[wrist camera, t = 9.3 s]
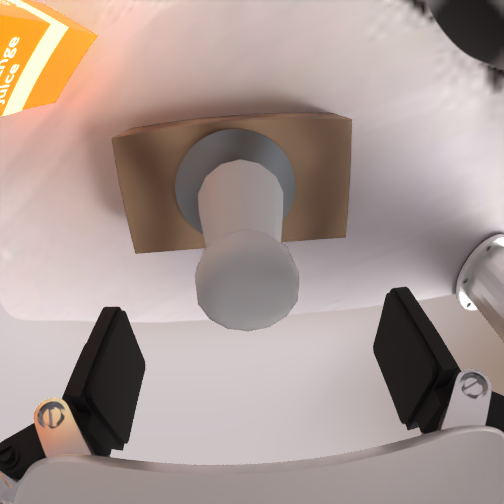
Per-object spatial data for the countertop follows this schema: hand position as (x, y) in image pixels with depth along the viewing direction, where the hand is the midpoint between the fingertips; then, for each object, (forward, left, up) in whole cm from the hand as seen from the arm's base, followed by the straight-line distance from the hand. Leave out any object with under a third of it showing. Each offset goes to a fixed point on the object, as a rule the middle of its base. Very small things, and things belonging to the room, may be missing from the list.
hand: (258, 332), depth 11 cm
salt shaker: (0, 0, -15) cm, 15 cm away
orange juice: (+18, -15, -20) cm, 31 cm away
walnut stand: (+1, 0, -20) cm, 20 cm away
